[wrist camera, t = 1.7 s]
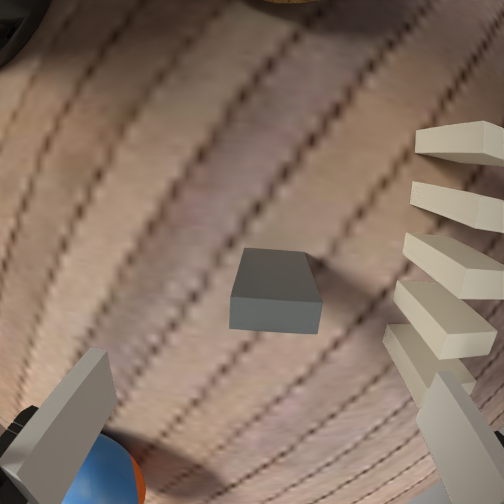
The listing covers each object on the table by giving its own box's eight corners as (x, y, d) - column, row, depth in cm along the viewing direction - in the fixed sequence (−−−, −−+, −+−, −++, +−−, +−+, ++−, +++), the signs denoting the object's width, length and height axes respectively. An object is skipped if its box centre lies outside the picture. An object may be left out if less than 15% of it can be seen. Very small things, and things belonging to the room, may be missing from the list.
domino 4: (406, 232, 25) (466, 268, 16) (450, 237, 25) (516, 272, 16) (402, 254, 26) (458, 299, 16) (446, 257, 26) (508, 299, 16)
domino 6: (387, 323, 28) (427, 388, 18) (429, 323, 28) (476, 381, 18) (382, 341, 29) (418, 408, 19) (424, 340, 28) (467, 400, 19)
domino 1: (244, 247, 27) (230, 296, 17) (304, 252, 26) (322, 302, 17) (243, 270, 27) (229, 328, 18) (301, 274, 27) (317, 334, 17)
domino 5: (397, 280, 27) (447, 334, 17) (441, 282, 27) (497, 331, 17) (392, 300, 27) (438, 359, 18) (436, 301, 27) (488, 354, 18)
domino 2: (416, 130, 23) (484, 120, 13) (461, 141, 23) (533, 141, 13) (415, 152, 24) (482, 153, 14) (459, 162, 23) (532, 170, 14)
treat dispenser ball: (150, 485, 38) (125, 558, 24) (65, 447, 38) (28, 510, 23) (165, 438, 34) (132, 535, 19) (60, 390, 33) (3, 466, 19)
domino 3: (412, 181, 24) (479, 194, 15) (457, 189, 24) (528, 207, 14) (410, 203, 25) (474, 228, 15) (454, 210, 25) (523, 236, 15)
